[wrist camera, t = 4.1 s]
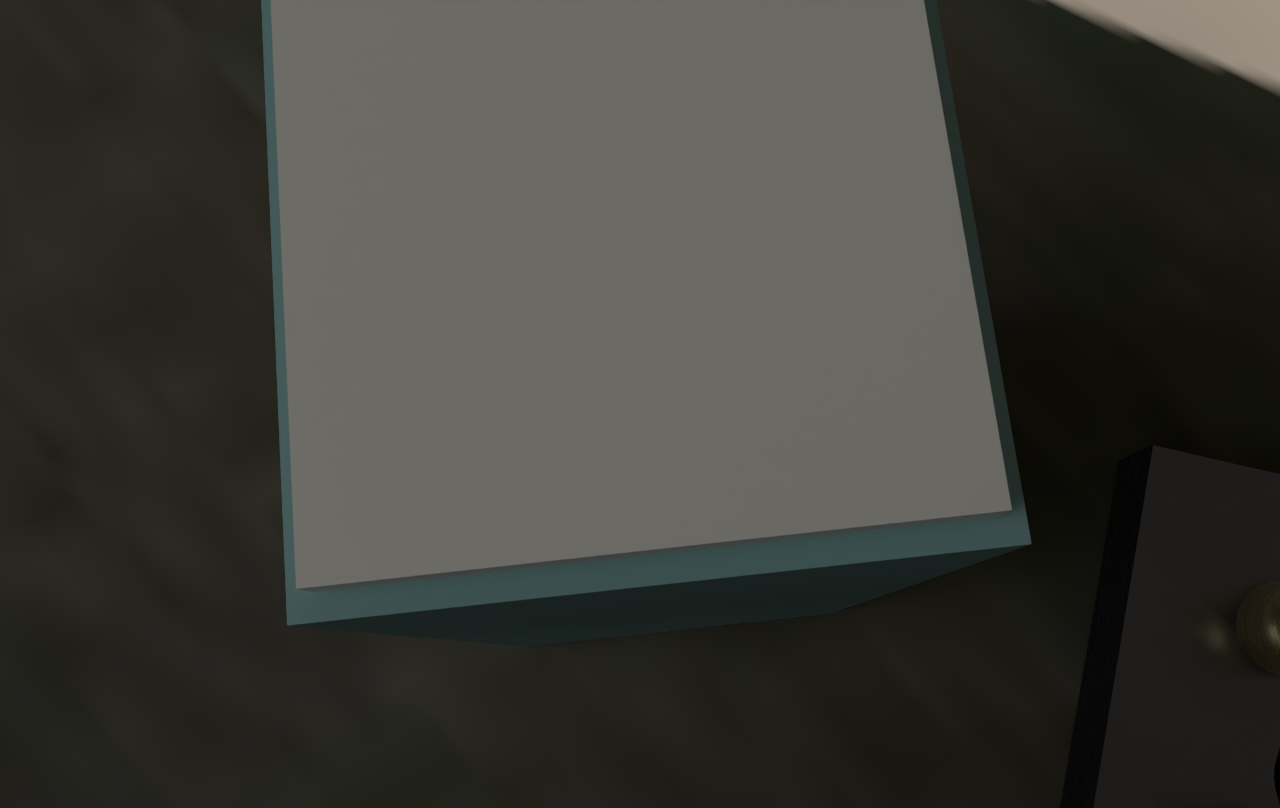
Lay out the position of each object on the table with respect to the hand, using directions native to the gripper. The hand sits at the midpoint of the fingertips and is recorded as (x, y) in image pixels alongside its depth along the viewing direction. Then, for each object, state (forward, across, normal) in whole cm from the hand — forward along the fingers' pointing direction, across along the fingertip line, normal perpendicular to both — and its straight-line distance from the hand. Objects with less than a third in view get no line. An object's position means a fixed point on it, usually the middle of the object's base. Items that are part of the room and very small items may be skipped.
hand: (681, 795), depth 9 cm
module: (+10, 0, +5) cm, 11 cm away
